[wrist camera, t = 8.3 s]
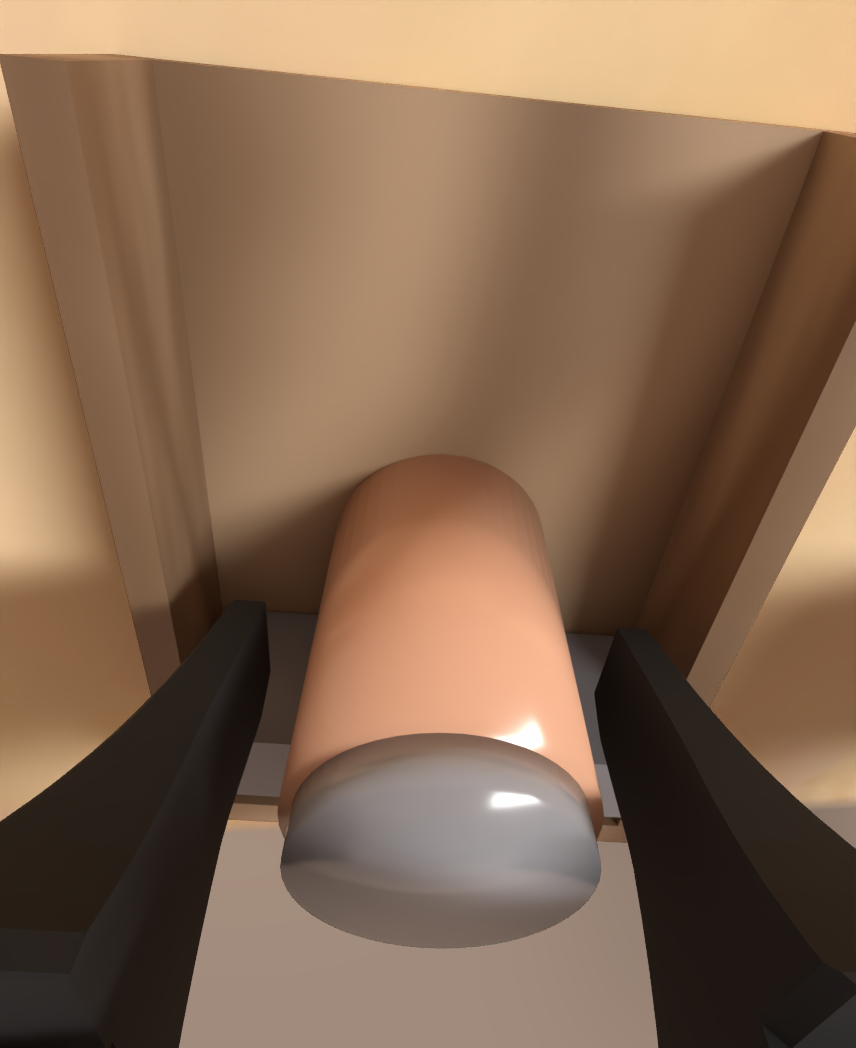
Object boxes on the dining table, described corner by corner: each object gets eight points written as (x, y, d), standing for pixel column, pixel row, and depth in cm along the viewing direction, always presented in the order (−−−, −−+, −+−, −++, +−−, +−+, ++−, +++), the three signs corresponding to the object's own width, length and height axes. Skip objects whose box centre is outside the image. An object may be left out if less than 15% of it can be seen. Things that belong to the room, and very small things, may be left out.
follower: (618, 636, 18) (676, 820, 13) (601, 686, 19) (648, 869, 15) (236, 609, 17) (170, 789, 13) (242, 661, 18) (183, 843, 14)
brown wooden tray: (855, 133, 11) (993, 159, 8) (611, 737, 21) (638, 843, 18) (113, 54, 11) (-2, 54, 8) (215, 711, 21) (180, 816, 18)
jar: (564, 467, 15) (665, 794, 8) (518, 627, 18) (566, 963, 11) (341, 441, 14) (262, 760, 8) (332, 608, 17) (268, 943, 11)
